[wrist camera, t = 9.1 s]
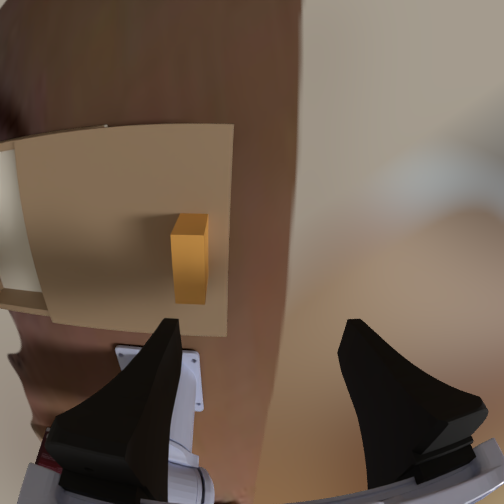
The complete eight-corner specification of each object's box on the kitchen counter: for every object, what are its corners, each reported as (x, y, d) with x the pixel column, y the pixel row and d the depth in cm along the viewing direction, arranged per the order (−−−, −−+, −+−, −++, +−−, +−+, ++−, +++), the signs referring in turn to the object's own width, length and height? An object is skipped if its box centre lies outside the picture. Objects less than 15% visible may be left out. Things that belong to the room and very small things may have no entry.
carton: (125, 301, 24) (115, 324, 21) (4, 289, 23) (-11, 306, 20) (107, 124, 18) (88, 128, 15) (-26, 147, 17) (-48, 155, 14)
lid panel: (226, 331, 22) (226, 367, 19) (55, 317, 21) (37, 347, 17) (233, 123, 16) (234, 128, 12) (19, 139, 14) (-16, 150, 11)
